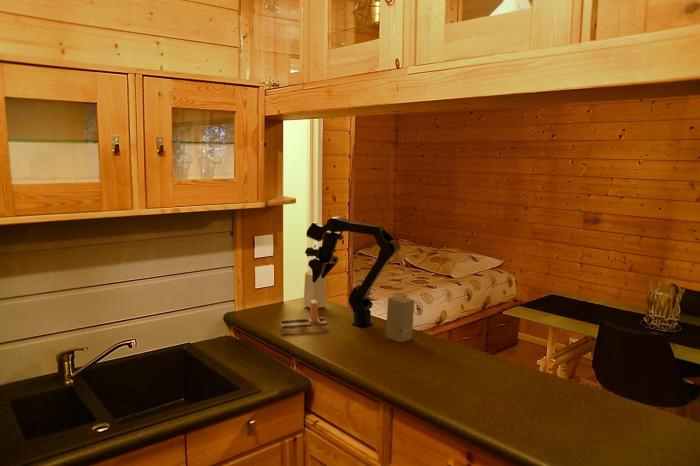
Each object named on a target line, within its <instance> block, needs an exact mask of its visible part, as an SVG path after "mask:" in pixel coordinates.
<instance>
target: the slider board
mask: <svg viewBox="0 0 700 466" xmlns="http://www.w3.org/2000/svg"><path fill="white" fill-rule="evenodd" d="M318 318H319V321H320V323H309V321H308V318H307V317H306V318H295V319H294V318H293V319H292V318H289V319H280V328H281V332H282V335H297V334H309V333H322V332H323V333H324V332H325V333H327V332H329V323H328V322H327V321H326V317H318Z"/></svg>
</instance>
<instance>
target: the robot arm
mask: <svg viewBox="0 0 700 466" xmlns="http://www.w3.org/2000/svg"><path fill="white" fill-rule="evenodd" d="M342 232H343V233H344V232H350V233H354V234H357V233H358V234H363V235H368V236H369V235H370V236H373V237H374V239H375V241H376V244H377V246H378V247H379V248H380V249H379V252H378V255H377V259H376V261H375V262H374V264H373V265H372V267H371V269H370V271H368V273H367V274H366V276H365V278H364V280H363V281H362V283H361V284H357V285H356V286H355V287H353V288H352V290H351V293H350V294H348V304H349V305H350V306H351V309H352V312H353V322H352V323H351V325H353V326H356V327H359V328H362V329H364V328H367V327H370V326H372V325H374V323H373V322H371V321H372V319H371V318H372V316H371V315H372V313H371V310H370V309H372V307H373V304H374V303H373V302H372V301H371V300H370V299H369V297H370V293H371V289H372V287H373V286H374V284H375V283H376V281H377V279H378V278H379V276H380V275H381V274H382V272H383V270H384V268H385V267H386V265H387V264H388V262H389V261H391V260H392V259H393V258H394V257H395V256H396V255H397V254H398V253H399V252H400V249H401V246H400V243H399V242H398V241H397V240H396V239H395V238H394V237H393V236H392V235H391V234H390V232H388V231H387V230H385V227H383V226H382V225H380V224H378V225H377V224H372V223H371V224H370V223H363V222H357V221H351V220H349V219H347V218H345V217H342V216H339V215H338V216H334V217H331V218H329V219H328V220H327V221H326V223H325V224H324V225H321V224H319V223H318V222H315V221H313V222H311V224H310V225H309V227H308V228H307V231H306V233H305V234H306V237H307V238H310V239H312V240H314V241H316V242H321V241H322V244H321V245H320V246H319V247H315V246H308V247H307V248H306V249H305V251H304V254H305V255H306V257H314V258H313V259H310V260H309V261H308V264H307V266H308V267H309V269H310V268H311V269H312V282H314V283H315V282H316V281H317V279H318V278H319V277H320V275H321V274H322V276H321V278H324V277H325V276H326V275H327V276H328V274H329V273H330V272H331V270H333V269H334V267H336V266H337V264H338V262H339V260H340V258H339V257H338V256H337V255H335V253H336V252H337V245H338V241H340V240H344V239H345V238H344V235H343V234H342Z"/></svg>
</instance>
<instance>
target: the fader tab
mask: <svg viewBox="0 0 700 466" xmlns="http://www.w3.org/2000/svg"><path fill="white" fill-rule="evenodd" d="M318 309H319V308H318V303H317V301H316V300H310V308H309V312H310V313H309V315H310V316H309V317H310V318H308V321H309V323H320V321H319V318H320V317H319V311H318Z"/></svg>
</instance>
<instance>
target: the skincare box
mask: <svg viewBox="0 0 700 466" xmlns="http://www.w3.org/2000/svg"><path fill="white" fill-rule="evenodd" d="M387 302H388V303H387V312H386V324H385V325H386V326H385V338H387V339H389V340H392V341H396V342H398V343H400V342H402V343H405V342H407V340H408V341H410V339H411V340H412V337H413V326H414V310H415V300H414V299H412V298H409V297H406V296H401V295H394V296H390V297H388V300H387ZM404 341H405V342H404Z"/></svg>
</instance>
